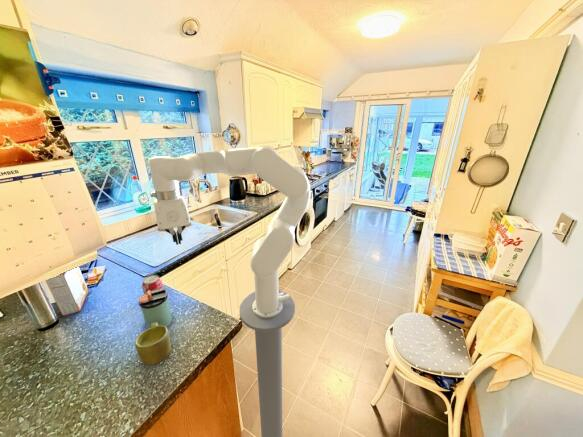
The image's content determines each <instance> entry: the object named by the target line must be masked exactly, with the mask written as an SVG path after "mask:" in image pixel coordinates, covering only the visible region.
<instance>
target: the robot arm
mask: <svg viewBox="0 0 583 437" xmlns="http://www.w3.org/2000/svg"><path fill="white" fill-rule="evenodd" d="M148 167H149V172H150V176H151V177H150V178H151V181H152V185H153V190H154V191H153V192H150V193H149V195H150V197H151V198H155V199H154V200H153V201H154V202H153V205H154V206H153V207H154V213H155V214H154V215H155V219H156V224H157V231H158V232H166V233H167V234H170V235H171V237H172V242H173V243H175V245H176V246H179V245H182V241H183V236H182V234H183V231H184V230H186V228H189V227H191V226H192V222H191V219H190V217H191V216H190V213H189V209H188V204H187V202H186V199H185V197H184V196H183V195H182V193H181V188H180V182H188V181H191V180H193V179H195V178H196V177H198V176H200V175H201V176H202V175H209V174H225V175H227V176H229V177H238V176H247V175H256V176H257V177H259V178H260V179H262V181H264V182H265V183H267V184H268V185H269V186H271V187H272V188H274V189H275V190H277V191H278V192H279V193H281V194H282V195H284V196H285V197H284V200H283V202H282V203H281V205H280V207H279V208H278V210H277V211H276V213H275V215H274V216H273V218H272V219H271V220H270V222H269V223H268V226H267V230H266V235H265V236H261V237H259V238H257V240H256V241H255V242H254V244H253V247H252V252H251V257H250V269H251V271H252V273H253V274H254V277H253V278H254V292H255V295H256V300H255V301H254V302H253V305H252V309H253V312H254V313H255V314H256V315H257V316H259V317H263V318H270V317H274V316H276V315H277V314H279V313H280V312H281V310H282V306H283V305H282V302H283V300H287V299H289V296H290V294H288V293H287V295H284V293H283V292H284V291H283V292H282V293H280V294H279V290H280V289H279V288H280V287H279V286H280V285H279V282H280V281H279V279H280V278H279V274H280V271H279V268H280V266H281V265H282V263H283V262H284V261H285V259H286V258H287V256H288V255H289V254H290V252H291V251H292V249H293V247H294V244H295V241H296V234H295V230H296V228H297V226H298V224H299V223H300V222H301V219H303V217H304V215H305V213H306V211H307V210H308V207H309V204H310V201H311V184H310V181H309V178H308V176H307V174H306V173H305V171H304V169H302V168H301V167H299V166H292V165H291V164H290V163H288V162H287V161H286V160H285V159H283V158H282V157H281V156H280V155H279V153H278V152H277V150H276V149H275V148H274V147H273V146H269V145H259V146H251V147H241V148H232V149H222V150H216V151H206V152H195V153H189V154H185V155H182V156H178V157H172V156H168V155H167V156H166V155H165V156H163V155H161V156H153V157H150V158H149V159H148ZM174 228H177V229H176V230H175V229H174ZM283 295H284V296H283Z"/></svg>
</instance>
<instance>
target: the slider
mask: <svg viewBox="0 0 583 437" xmlns="http://www.w3.org/2000/svg"><path fill="white" fill-rule="evenodd" d="M139 299H140V303H143V302H146V301H150V300H151V292H150V290H149V291H148V294H147V295H145V296H143V295H141V296H139Z"/></svg>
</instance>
